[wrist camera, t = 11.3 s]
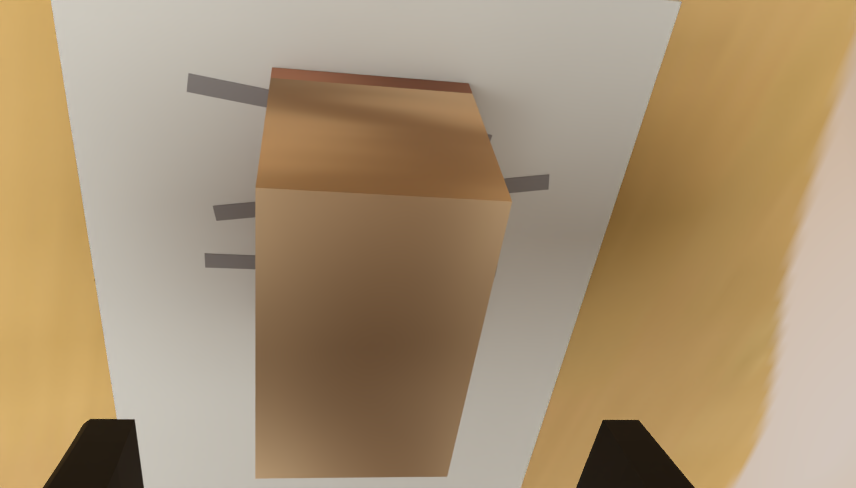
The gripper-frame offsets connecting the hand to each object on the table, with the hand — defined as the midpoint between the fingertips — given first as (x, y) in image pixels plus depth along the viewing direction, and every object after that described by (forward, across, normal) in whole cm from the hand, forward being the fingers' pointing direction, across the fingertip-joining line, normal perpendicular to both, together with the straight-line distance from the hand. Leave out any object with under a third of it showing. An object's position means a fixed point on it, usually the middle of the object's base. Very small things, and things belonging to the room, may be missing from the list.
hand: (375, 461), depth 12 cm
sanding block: (+7, 0, 0) cm, 7 cm away
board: (+8, 0, +3) cm, 8 cm away
